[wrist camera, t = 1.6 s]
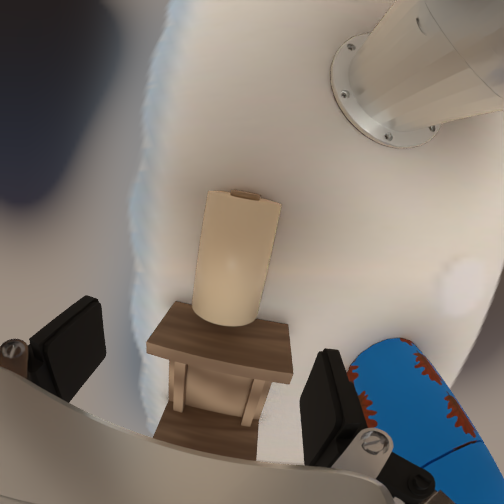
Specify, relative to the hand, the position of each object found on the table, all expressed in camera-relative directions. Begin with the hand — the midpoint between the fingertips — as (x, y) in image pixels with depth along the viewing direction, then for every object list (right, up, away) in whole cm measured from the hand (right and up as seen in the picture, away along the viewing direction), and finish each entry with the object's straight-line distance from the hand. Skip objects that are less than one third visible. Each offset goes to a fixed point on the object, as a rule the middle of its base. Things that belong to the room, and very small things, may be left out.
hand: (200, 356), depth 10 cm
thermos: (+19, -11, +19) cm, 29 cm away
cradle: (-2, -10, +20) cm, 22 cm away
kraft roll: (+1, +5, +16) cm, 16 cm away
